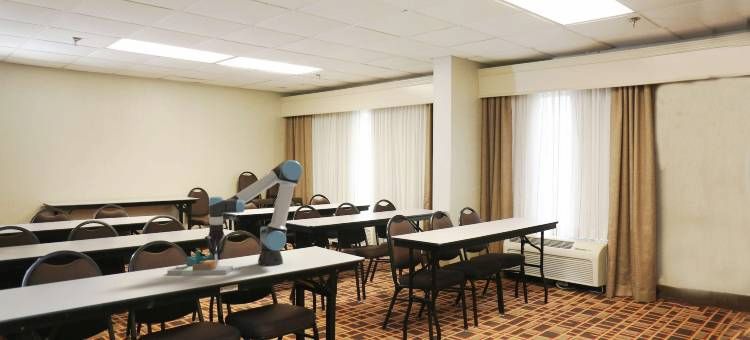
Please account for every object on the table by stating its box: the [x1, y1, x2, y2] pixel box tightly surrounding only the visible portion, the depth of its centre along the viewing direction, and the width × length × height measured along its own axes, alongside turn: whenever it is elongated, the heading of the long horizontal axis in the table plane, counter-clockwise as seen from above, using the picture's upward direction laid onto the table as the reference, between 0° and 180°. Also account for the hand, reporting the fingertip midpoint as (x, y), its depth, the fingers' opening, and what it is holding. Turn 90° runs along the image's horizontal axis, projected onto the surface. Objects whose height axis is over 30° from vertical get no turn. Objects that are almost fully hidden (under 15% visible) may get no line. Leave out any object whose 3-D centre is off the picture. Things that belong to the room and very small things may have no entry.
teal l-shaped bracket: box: [186, 250, 213, 266], centre depth 320 cm, size 18×11×10 cm, turn 37°
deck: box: [166, 261, 234, 276], centre depth 301 cm, size 34×12×6 cm, turn 87°
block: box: [203, 260, 219, 269], centre depth 301 cm, size 6×6×4 cm
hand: (216, 265), depth 301 cm, fingers closed
